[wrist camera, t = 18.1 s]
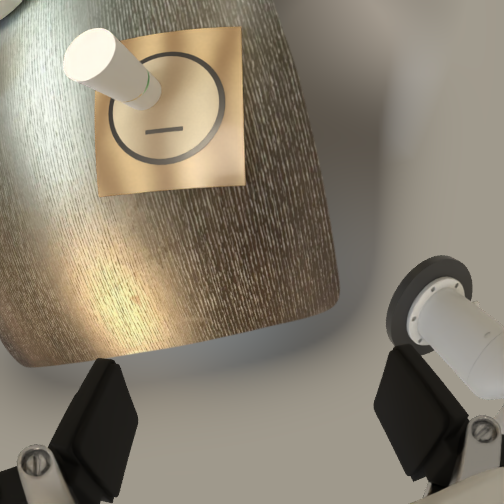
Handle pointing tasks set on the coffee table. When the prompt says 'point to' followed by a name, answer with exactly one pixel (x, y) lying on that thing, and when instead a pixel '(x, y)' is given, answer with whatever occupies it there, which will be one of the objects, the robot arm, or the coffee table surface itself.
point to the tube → (110, 69)
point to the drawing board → (177, 117)
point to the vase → (8, 7)
